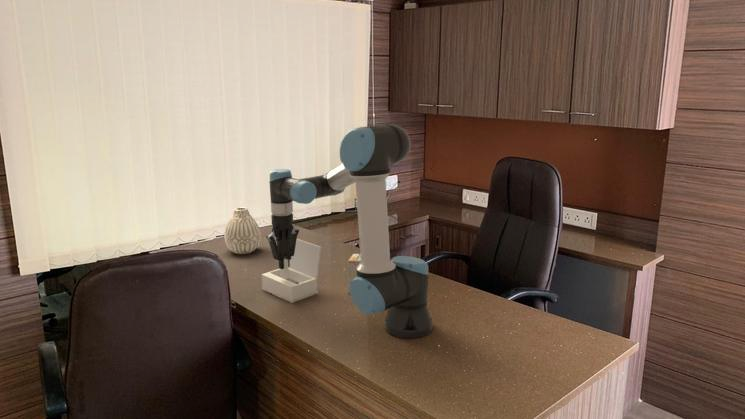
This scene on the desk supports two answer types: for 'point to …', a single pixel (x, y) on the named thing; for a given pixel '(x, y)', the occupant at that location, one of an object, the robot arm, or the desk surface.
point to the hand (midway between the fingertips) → (284, 276)
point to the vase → (242, 232)
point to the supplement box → (353, 268)
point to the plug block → (292, 281)
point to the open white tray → (289, 285)
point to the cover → (306, 258)
